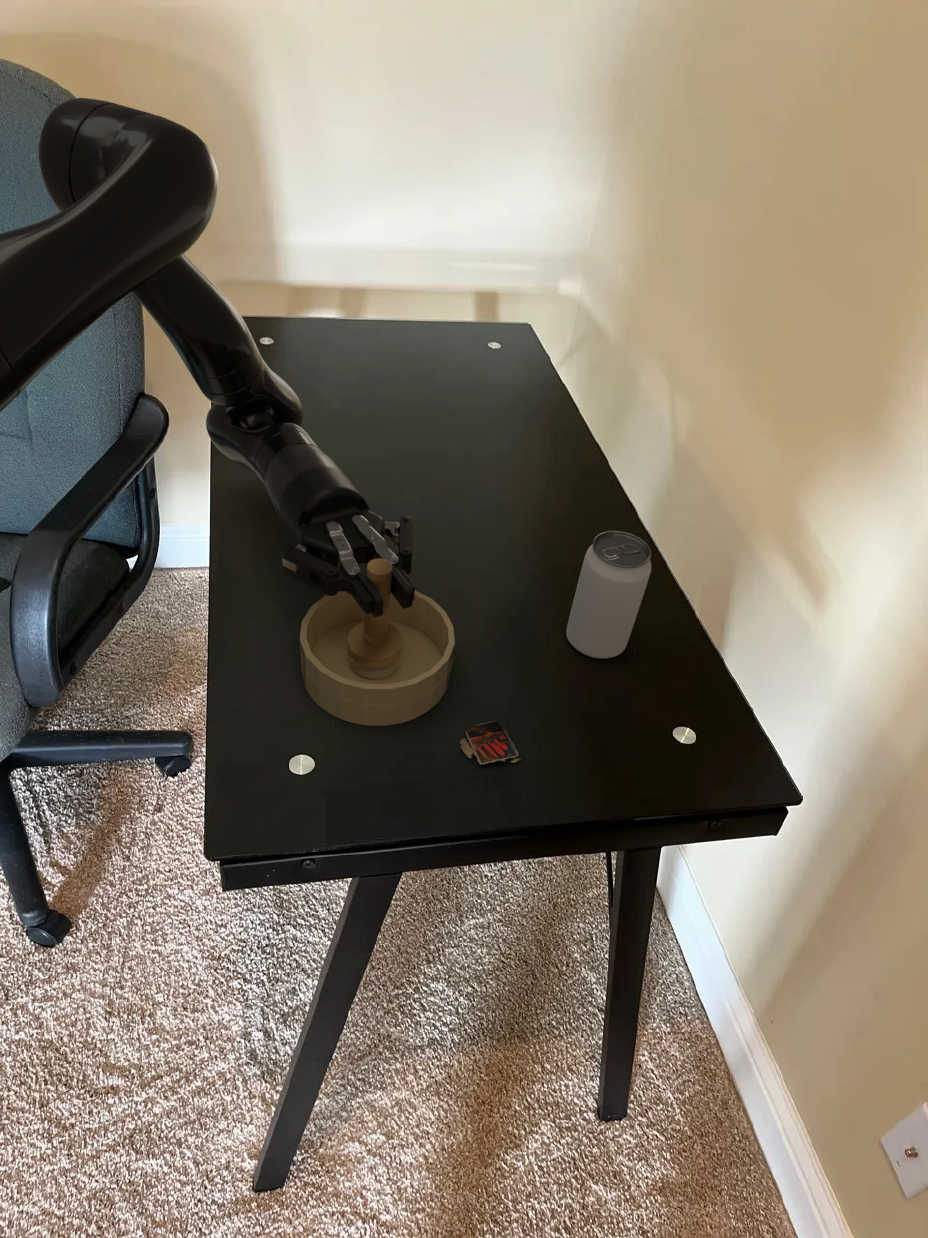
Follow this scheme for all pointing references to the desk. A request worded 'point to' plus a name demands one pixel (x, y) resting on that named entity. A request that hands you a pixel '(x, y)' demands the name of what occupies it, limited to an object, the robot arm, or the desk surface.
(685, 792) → the desk surface
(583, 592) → the can
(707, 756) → the desk surface
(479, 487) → the desk surface
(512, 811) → the desk surface
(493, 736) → the small printed card
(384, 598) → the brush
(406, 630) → the bowl
